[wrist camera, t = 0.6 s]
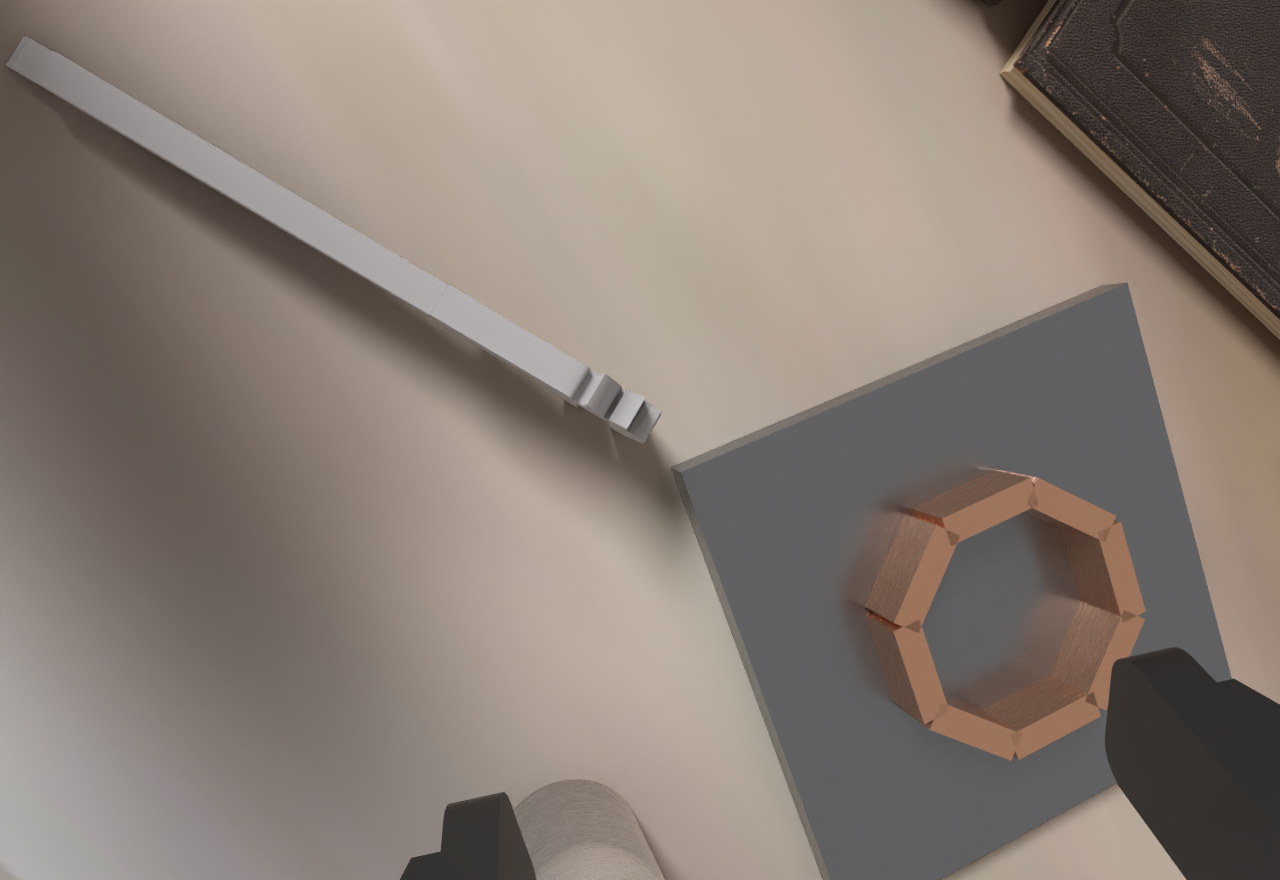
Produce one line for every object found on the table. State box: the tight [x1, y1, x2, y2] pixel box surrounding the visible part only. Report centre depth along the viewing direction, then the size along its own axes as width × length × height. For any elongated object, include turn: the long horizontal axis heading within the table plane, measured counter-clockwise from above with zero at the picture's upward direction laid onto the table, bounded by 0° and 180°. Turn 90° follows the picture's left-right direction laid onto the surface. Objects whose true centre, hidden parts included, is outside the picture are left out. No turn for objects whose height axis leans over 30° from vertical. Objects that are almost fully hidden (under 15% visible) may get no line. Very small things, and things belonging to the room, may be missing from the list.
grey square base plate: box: [671, 283, 1232, 880], centre depth 32 cm, size 18×18×3 cm
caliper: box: [6, 35, 661, 444], centre depth 25 cm, size 20×1×6 cm, turn 59°
